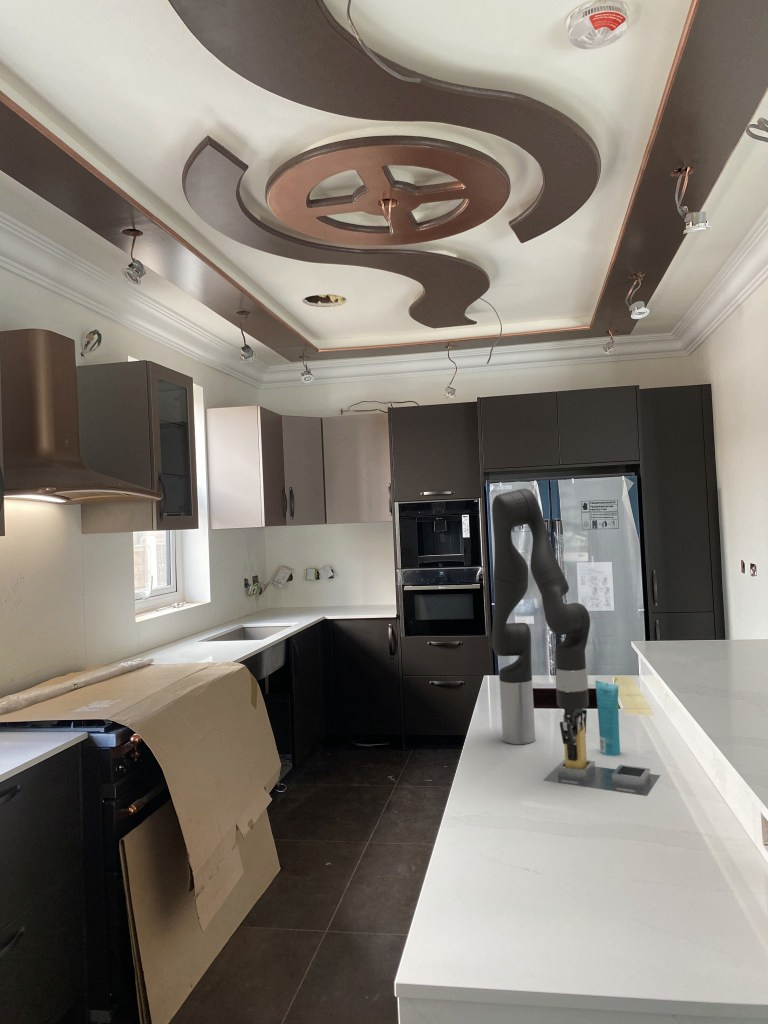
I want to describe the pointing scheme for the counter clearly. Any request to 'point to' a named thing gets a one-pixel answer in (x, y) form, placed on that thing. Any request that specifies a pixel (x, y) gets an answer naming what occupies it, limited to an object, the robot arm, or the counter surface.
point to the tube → (608, 718)
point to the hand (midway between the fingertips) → (575, 756)
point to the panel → (606, 778)
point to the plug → (578, 751)
